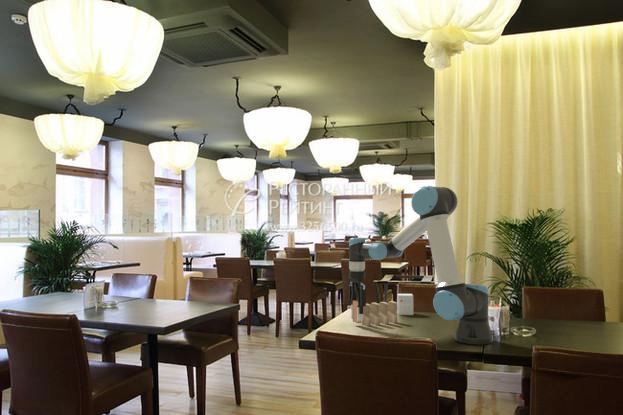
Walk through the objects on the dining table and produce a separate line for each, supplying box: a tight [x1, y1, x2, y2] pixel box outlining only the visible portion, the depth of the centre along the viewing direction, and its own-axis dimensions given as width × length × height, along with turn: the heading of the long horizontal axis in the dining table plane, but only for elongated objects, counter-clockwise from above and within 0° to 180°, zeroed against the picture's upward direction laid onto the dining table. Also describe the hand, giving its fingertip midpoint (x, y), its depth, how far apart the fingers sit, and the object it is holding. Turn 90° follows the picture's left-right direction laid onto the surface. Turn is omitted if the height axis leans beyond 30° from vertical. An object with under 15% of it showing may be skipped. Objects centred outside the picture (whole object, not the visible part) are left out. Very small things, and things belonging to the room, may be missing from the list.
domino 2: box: [361, 303, 372, 327], centre depth 241 cm, size 2×5×10 cm, turn 25°
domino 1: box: [352, 299, 362, 324], centre depth 239 cm, size 2×5×10 cm, turn 25°
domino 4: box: [379, 301, 390, 325], centre depth 245 cm, size 2×5×10 cm, turn 25°
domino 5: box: [387, 300, 398, 324], centre depth 247 cm, size 2×5×10 cm, turn 25°
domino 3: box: [370, 302, 381, 326], centre depth 243 cm, size 2×5×10 cm, turn 25°
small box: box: [397, 293, 415, 316], centre depth 268 cm, size 8×6×10 cm
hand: (357, 319), depth 239 cm, fingers closed on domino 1, 5 cm apart
